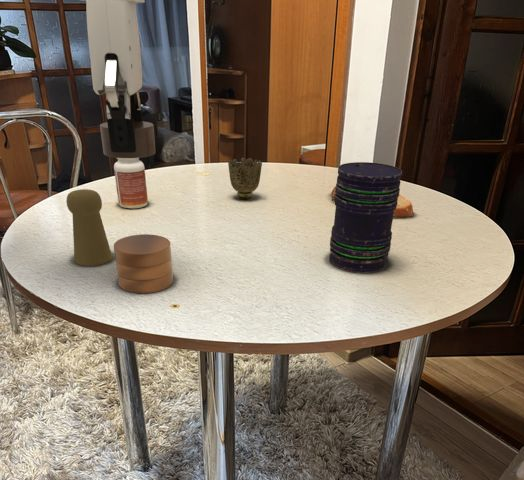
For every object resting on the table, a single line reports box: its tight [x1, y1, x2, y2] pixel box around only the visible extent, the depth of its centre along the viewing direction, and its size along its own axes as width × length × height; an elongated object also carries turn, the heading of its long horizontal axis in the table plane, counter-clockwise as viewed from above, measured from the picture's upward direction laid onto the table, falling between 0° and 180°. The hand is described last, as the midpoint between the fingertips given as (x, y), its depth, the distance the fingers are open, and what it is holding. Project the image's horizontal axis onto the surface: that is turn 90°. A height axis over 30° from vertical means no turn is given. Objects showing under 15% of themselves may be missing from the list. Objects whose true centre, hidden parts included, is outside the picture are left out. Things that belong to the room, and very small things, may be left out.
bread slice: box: [331, 185, 415, 219], centre depth 113 cm, size 18×18×4 cm
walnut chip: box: [99, 120, 157, 159], centre depth 69 cm, size 7×7×4 cm
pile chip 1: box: [113, 233, 172, 267], centre depth 74 cm, size 8×8×2 cm
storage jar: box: [328, 161, 403, 274], centre depth 82 cm, size 10×10×15 cm
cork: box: [65, 188, 113, 267], centre depth 81 cm, size 6×6×11 cm
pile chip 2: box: [115, 257, 173, 280], centre depth 75 cm, size 8×8×2 cm
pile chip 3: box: [116, 269, 174, 294], centre depth 76 cm, size 8×8×2 cm
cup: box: [227, 157, 263, 201], centre depth 114 cm, size 8×7×8 cm
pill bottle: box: [113, 158, 149, 209], centre depth 106 cm, size 6×6×11 cm
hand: (128, 145), depth 70 cm, fingers closed on walnut chip, 7 cm apart
